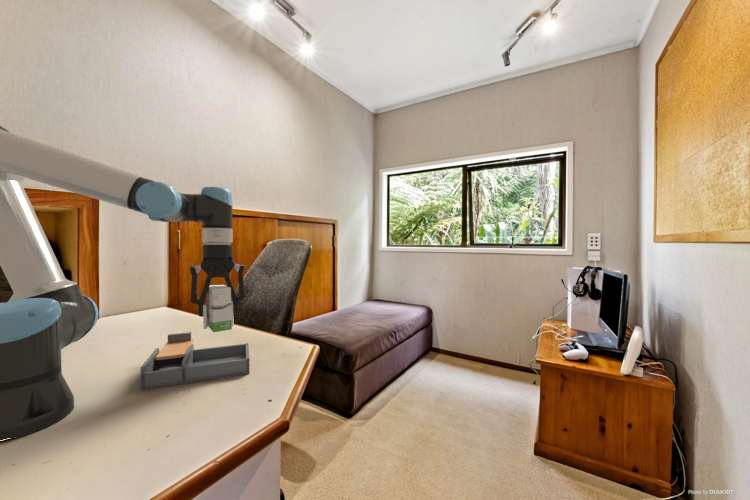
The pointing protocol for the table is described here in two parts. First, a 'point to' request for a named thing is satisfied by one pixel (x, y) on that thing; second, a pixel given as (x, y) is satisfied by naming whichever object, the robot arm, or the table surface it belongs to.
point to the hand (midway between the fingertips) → (219, 326)
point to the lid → (175, 346)
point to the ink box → (219, 308)
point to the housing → (195, 366)
